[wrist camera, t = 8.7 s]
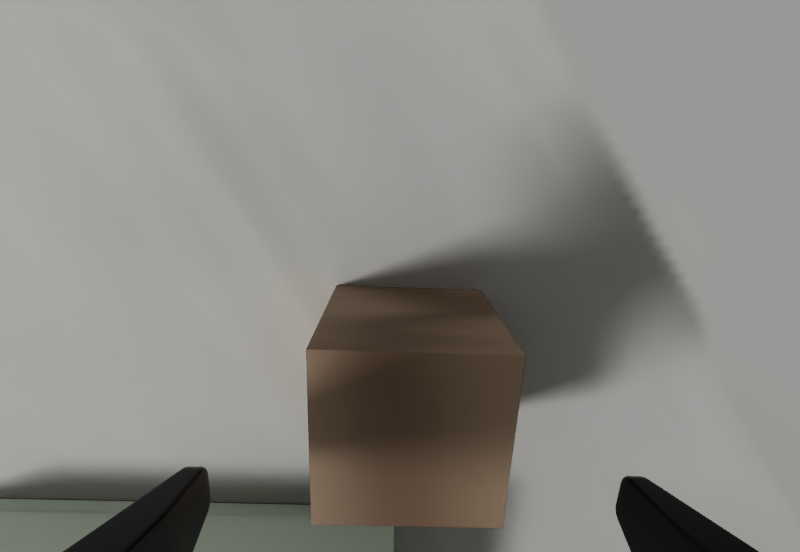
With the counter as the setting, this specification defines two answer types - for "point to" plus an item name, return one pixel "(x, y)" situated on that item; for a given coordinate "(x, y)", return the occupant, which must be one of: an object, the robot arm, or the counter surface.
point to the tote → (219, 538)
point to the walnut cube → (411, 409)
